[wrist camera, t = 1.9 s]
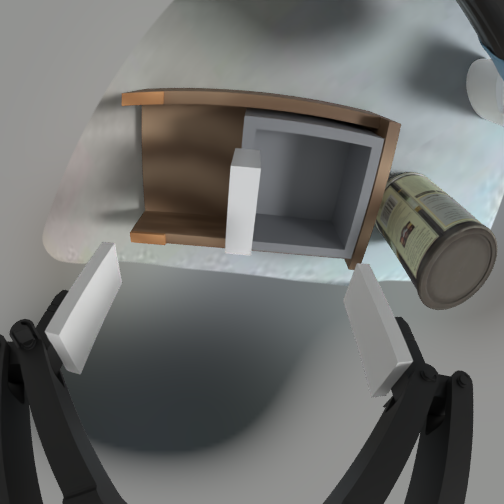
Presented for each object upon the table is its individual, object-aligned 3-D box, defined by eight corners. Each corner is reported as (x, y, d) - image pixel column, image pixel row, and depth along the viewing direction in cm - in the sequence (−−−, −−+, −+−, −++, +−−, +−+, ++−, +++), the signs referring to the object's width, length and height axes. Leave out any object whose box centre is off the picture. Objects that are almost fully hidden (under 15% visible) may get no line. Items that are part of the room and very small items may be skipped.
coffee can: (435, 233, 37) (485, 296, 25) (373, 246, 38) (412, 320, 27) (439, 166, 31) (506, 218, 20) (370, 176, 33) (425, 237, 21)
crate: (241, 106, 27) (234, 125, 17) (358, 124, 28) (410, 155, 18) (232, 215, 34) (223, 281, 24) (335, 225, 35) (364, 291, 25)
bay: (145, 89, 27) (114, 95, 20) (369, 111, 28) (401, 124, 22) (148, 215, 36) (126, 250, 29) (341, 232, 37) (358, 270, 31)
